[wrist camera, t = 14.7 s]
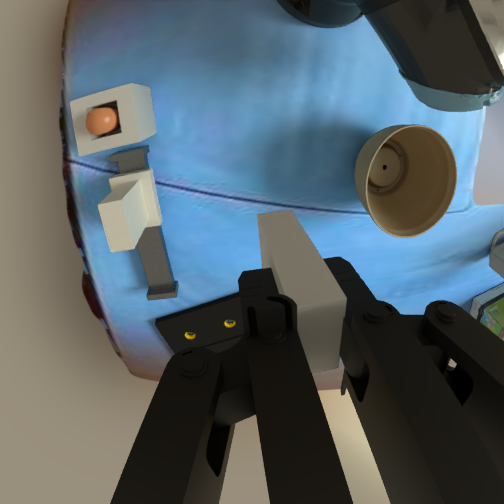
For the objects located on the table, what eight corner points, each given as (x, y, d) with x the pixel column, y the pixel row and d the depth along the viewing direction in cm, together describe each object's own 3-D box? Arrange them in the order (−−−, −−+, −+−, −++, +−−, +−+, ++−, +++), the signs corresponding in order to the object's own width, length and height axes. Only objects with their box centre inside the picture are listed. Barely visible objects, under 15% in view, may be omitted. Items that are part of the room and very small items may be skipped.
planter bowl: (334, 214, 49) (361, 243, 40) (335, 115, 42) (367, 120, 32) (413, 209, 50) (449, 234, 41) (420, 121, 43) (462, 130, 33)
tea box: (465, 324, 68) (493, 359, 55) (472, 296, 63) (505, 331, 50) (499, 306, 68) (527, 336, 55) (506, 279, 63) (538, 309, 50)
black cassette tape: (182, 356, 61) (181, 364, 59) (155, 317, 55) (154, 324, 54) (264, 332, 60) (266, 339, 58) (245, 287, 54) (246, 294, 53)
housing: (99, 100, 37) (69, 101, 28) (150, 87, 37) (131, 83, 28) (106, 144, 40) (79, 156, 31) (156, 133, 40) (140, 141, 31)
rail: (117, 152, 41) (109, 156, 38) (148, 145, 41) (143, 148, 38) (151, 288, 52) (148, 300, 49) (178, 285, 52) (176, 297, 49)
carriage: (113, 175, 40) (84, 198, 30) (152, 167, 40) (131, 188, 31) (125, 226, 44) (102, 261, 34) (162, 220, 44) (148, 254, 34)
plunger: (102, 110, 32) (83, 112, 27) (123, 104, 33) (107, 105, 27) (105, 132, 34) (87, 137, 29) (126, 126, 34) (111, 131, 29)
